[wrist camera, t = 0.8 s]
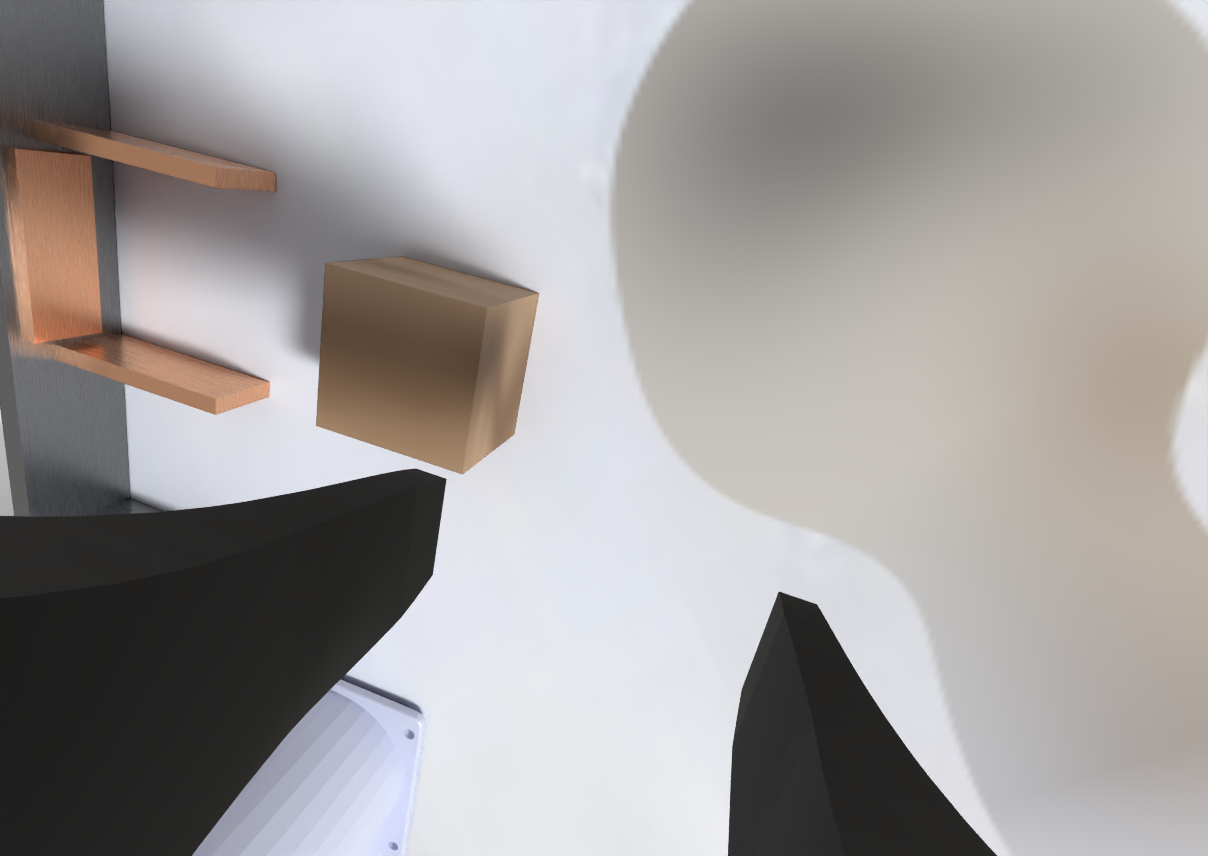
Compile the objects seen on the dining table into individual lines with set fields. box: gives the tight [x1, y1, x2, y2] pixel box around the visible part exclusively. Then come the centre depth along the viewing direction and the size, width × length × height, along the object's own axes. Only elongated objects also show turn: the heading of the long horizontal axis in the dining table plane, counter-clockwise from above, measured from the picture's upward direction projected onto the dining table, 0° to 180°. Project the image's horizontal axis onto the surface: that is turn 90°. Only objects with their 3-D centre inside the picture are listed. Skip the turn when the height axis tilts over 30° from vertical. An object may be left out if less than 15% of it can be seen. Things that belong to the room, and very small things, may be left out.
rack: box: [0, 0, 276, 517], centre depth 22 cm, size 23×8×4 cm, turn 167°
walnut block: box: [316, 256, 539, 474], centre depth 20 cm, size 5×5×4 cm
